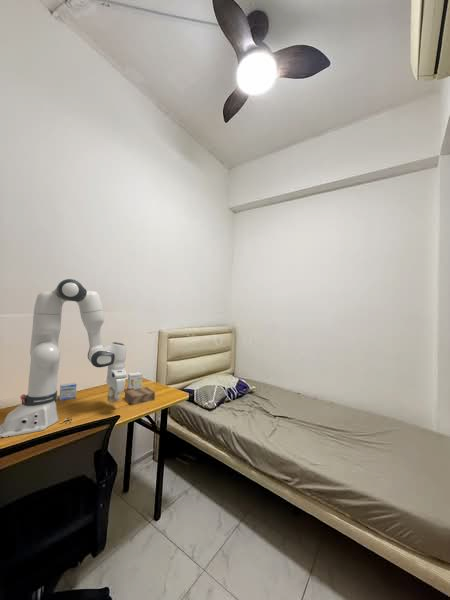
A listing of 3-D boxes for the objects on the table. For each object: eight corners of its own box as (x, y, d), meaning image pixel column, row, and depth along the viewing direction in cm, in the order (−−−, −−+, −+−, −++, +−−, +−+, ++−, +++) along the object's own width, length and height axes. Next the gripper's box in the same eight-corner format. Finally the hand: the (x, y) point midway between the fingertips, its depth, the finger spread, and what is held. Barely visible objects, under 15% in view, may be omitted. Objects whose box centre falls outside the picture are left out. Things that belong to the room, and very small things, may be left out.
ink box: (128, 393, 157) (129, 375, 157) (126, 390, 161) (127, 373, 161) (141, 390, 162) (142, 373, 162) (139, 388, 166) (140, 371, 166)
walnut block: (131, 405, 138) (132, 397, 138) (124, 399, 147) (125, 391, 147) (154, 400, 147) (154, 392, 148) (146, 394, 156) (146, 386, 156)
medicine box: (60, 401, 139) (61, 386, 140) (59, 398, 143) (60, 384, 143) (75, 398, 144) (76, 384, 145) (74, 396, 148) (75, 382, 148)
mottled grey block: (110, 403, 129) (111, 390, 130) (107, 400, 133) (108, 387, 134) (119, 401, 133) (120, 388, 133) (116, 398, 137) (117, 386, 137)
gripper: (104, 367, 139) (102, 391, 139) (116, 376, 124) (113, 403, 124) (115, 366, 144) (113, 389, 143) (128, 374, 128) (125, 400, 128)
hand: (113, 396), depth 133 cm, fingers closed on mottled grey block, 5 cm apart
